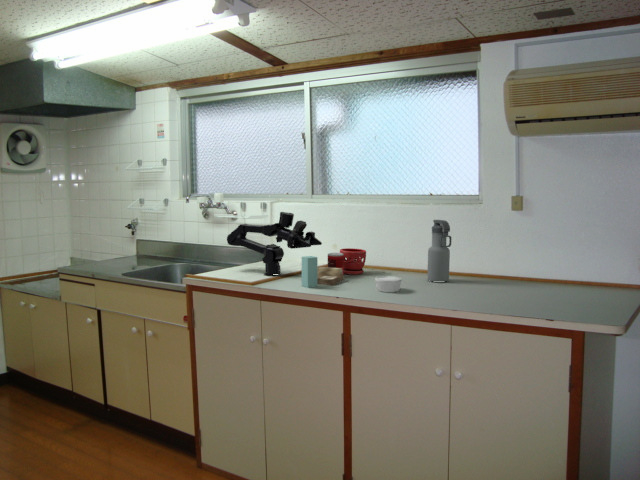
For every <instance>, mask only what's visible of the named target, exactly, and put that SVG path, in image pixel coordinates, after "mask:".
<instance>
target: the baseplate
mask: <svg viewBox="0 0 640 480" xmlns="http://www.w3.org/2000/svg"><path fill="white" fill-rule="evenodd" d="M343 281H345V274H343V275H340V276H333V275H319V274H317V285H322V286H335V285H337V284H339V283H341V282H343Z"/></svg>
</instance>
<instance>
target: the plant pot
mask: <svg viewBox="0 0 640 480" xmlns="http://www.w3.org/2000/svg"><path fill="white" fill-rule="evenodd" d="M339 253H343V255H344V273H343V275H349V276H350V275H352V276H353V275H354V276H355V275H361V274H363V272H364V271H365V270H364V266H365V264H366V259H367V250H366V249H362V248H350V247H349V248H346V247H345V248H341V249H339Z"/></svg>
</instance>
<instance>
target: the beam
mask: <svg viewBox="0 0 640 480" xmlns="http://www.w3.org/2000/svg"><path fill="white" fill-rule="evenodd" d="M317 274H319V275H333V276H340V275H342V268H330V267H328V266H317Z"/></svg>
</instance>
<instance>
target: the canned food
mask: <svg viewBox="0 0 640 480" xmlns="http://www.w3.org/2000/svg"><path fill="white" fill-rule="evenodd" d="M327 267H330V268H342V275H344V274H343V273H344V255H343V253H340V252H330V253H327Z"/></svg>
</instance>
